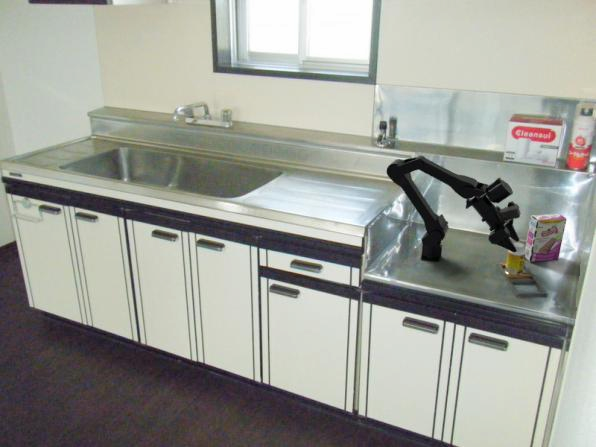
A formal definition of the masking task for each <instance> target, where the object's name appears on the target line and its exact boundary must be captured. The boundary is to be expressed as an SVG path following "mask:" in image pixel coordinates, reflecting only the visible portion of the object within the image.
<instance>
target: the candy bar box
mask: <svg viewBox="0 0 596 447" xmlns="http://www.w3.org/2000/svg"><path fill="white" fill-rule="evenodd" d="M529 217H530V218H529V223H528V229H527V235H526V240H525V241H526V242H525V244H524V250H525V251H526V254H525V260H526V261H527V262H528V263H542V262H551V261H553V262H554V261H559V257H560V252H561V247H562V243H563V238H564V233H565V229H566V225H567V218H566V217H565V216H564V215H561V213H552V214H551V213H549V214H548V213H547V214H537V215H534V214H532V215H530V216H529Z"/></svg>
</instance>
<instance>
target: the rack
mask: <svg viewBox="0 0 596 447" xmlns="http://www.w3.org/2000/svg"><path fill="white" fill-rule="evenodd" d="M495 263H496V264H495V266H496V268H497V269H498V270H499V272H500V275H502V276H501V277H503V279H504V280H505V282H506V283H507V285H508V286H509V288H510V289H511V292H512V293H513V294H514V296H515V298H519V297H521V298H522V297H526V298H527V297H528V298H533V297H535V298H537V297H538V298H539V297H540V298H548V293H547V291H546V290H545V289H544V287H543V286H542V284H541V283H540V282H539V280H538V279H537V278H536V276H535V275H534V273H533V272H532V271H531V270H530V268H529V267H528V266H527V264H526V263H525V262H524V267H523V272H522V273H521V274H519V275H513V274H510V273H508V272H507V271H506V263H507V262H497V261H496V262H495ZM504 267H505V269H504ZM525 272H526V274H525ZM514 284H523V285H524V284H526V285H527V284H529V285H530V284H531V285H532V284H533V285H535V286H536V288H537V290H539V292H535V291H533V292H531V291H530V292H529V291H528V292H527V291H526V292H525V291H524V292H523V291H521V292H520V291H518V289H516V287H515V285H514Z"/></svg>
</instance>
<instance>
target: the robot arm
mask: <svg viewBox="0 0 596 447" xmlns="http://www.w3.org/2000/svg"><path fill="white" fill-rule="evenodd" d="M415 171H421V172H423V173H424V174H426V175H428V176H430V177H432V178H434V179H436V180H438V181H439V182H442V183H443V184H445V185H447V186H448V187H450V188H451V189H452V190H453V192H454V193H456V194H457V195H458V196H460V197H461V198H462V199H463V200H464V199H465V204H466V205H465V209H469V208H470V207H472V208H473V209H474V211H475V212H477V214H478V215H479V216H480V218H481V222H482V223H486V225H487V226H488V227H489V228H488V230H489V231H490V233H489V235H488V241H489V243H490V244H491V245H494V246H496V245H497V246H499V247H500V248H501V247H502V248H503V249H506V250H510V251H512V252H516V251H517V250H516V248H515V246H514V244H513V243H514V242H518V243H519V242H520V241H521V239H520V238H519V236H518V233H517V231H516V228H515V227H514V222H515V220H516V219H519V218H520V217H521V214H522V213H521V211H520V210H521V209H520V206H519V205H518V203H515V202H514V201H509V202H507V206H505V207H503V208H501V207H500V206H499V205H496V206H495V204H499V203H501V202H503V201H504V200H506V199H507V198H509V197H510V196H512V195H513V194H514V191H513V189H512V187H511V186H510V184H509V183H508V182H506V181H505V180H503V179H502V178H501V177H497V178H496V179H495V180H494V181H493V182H492V183H490V184H487V183H483V182H479V181H478V180H477V179H476V178H473V177H471V176H468V175H464V174H463V175H462V174H457V173H455V172H453V171H452V170H449V169H447V168H445V167H444V166H441V165H439V164H437V163H436V162H434V161H432V160H430V159H429V158H426V157H425V156H424V155H418V156H415V157H409V158H405V159H402V158H399V159H394V161H392V162H391V163H390V164H389V165H388V166H387V168H386V175H387V177H388V178H389V179H390V180H391V181H392V182H393V184H395V185H397V186H398V187H400V188H401V190H402V191H403V192H404V193H405V195H406V197H407V198H408V200H409V201H410V203H411V205H412V206H413V207H414V209H415V210H416V212H417V213H418V214H419V216H420V217H421V220H422V221H423V224H424V227H425V228H424V229H425V233H424V235H423V237H422V238H421V240H420V241H421V243H422V244H421V245H422V246H421V255H420V260H423V261H424V260H425V261H432V262H440V261H441V260H440V259H441V258H442V252H443V244H442V241H443V240H444V239H445V238H446V236H447V234H448V232H449V228H450V227H449V221H447V220H446V218H445V216H444V215H443V213H440V215H439V214H437V213H435V212H434V210H433V208H431V206H430V204H429V203H428V201H427V200H426V198H425V197H424V195H423V194H422V193H421V192H422V191H420V189H419V188H418V186H417V185H416V184H415V182H414V181H413V180H414V179H413V178H412V172H415ZM512 240H513V241H514V242H513V241H512Z"/></svg>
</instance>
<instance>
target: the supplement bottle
mask: <svg viewBox="0 0 596 447" xmlns="http://www.w3.org/2000/svg"><path fill="white" fill-rule="evenodd" d="M512 243H513V244H514V246H515V248H516V250H517V251H516V252H512V251H510V250H508V249H507V250H508V251H507V256H506V257H507V258H506V262H505V263H506V267H505V269H506V271H507V272H508V273H510V274H513V275H519V274H521V273H522V272H523V271H524V268H523V267H524V263H525V260H526V259H525V254H526V251H525V244H524V243H521V242H519V241H518V242H516V241H514V242H512Z"/></svg>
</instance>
